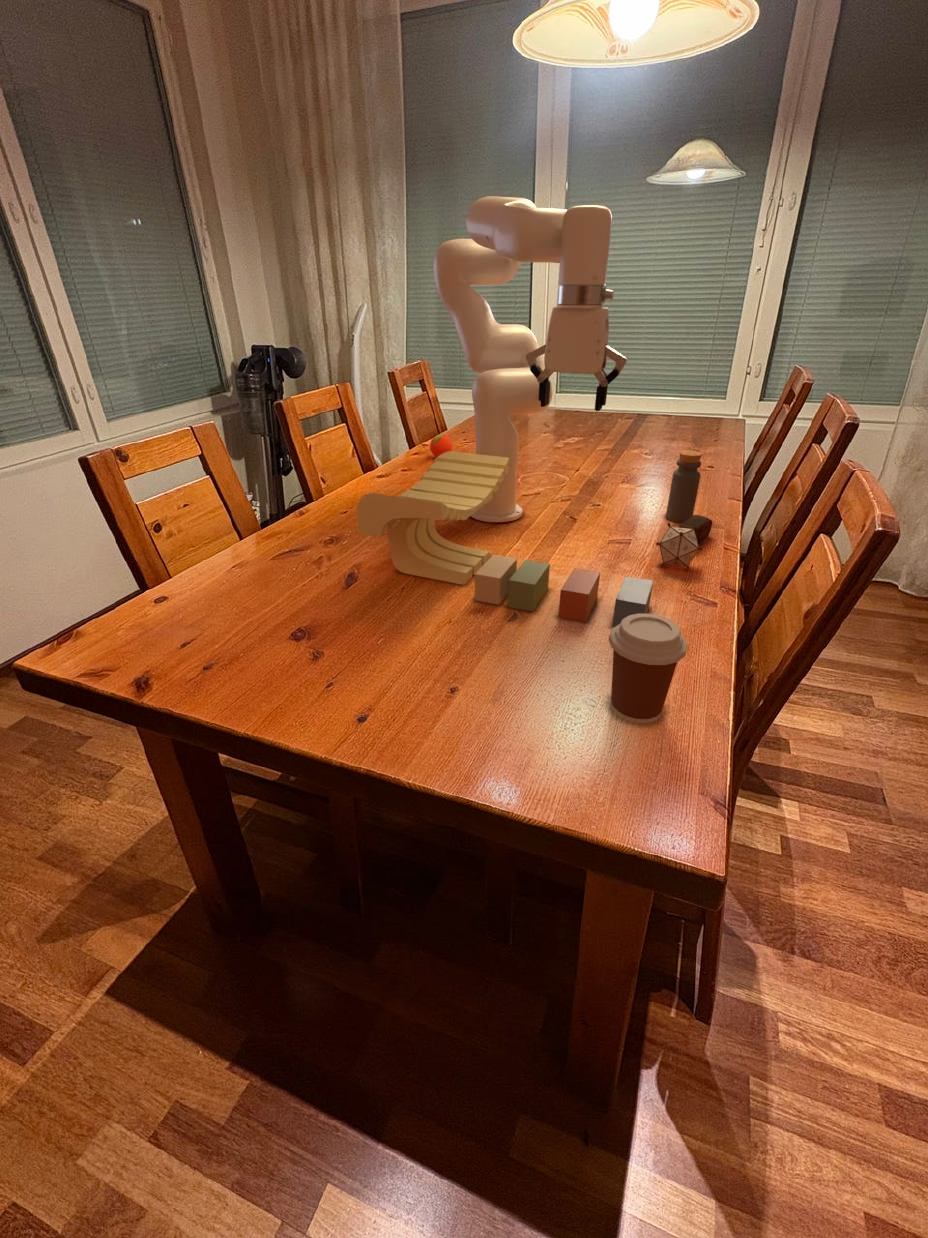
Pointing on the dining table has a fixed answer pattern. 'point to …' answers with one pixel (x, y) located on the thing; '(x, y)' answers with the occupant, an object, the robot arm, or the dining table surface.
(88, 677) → the dining table surface
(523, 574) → the block
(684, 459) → the bottle
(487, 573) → the block
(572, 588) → the loose block
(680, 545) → the game die
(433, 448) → the tomato
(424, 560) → the slatted curved stool
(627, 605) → the block
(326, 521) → the dining table surface
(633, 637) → the coffee cup
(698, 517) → the brick
